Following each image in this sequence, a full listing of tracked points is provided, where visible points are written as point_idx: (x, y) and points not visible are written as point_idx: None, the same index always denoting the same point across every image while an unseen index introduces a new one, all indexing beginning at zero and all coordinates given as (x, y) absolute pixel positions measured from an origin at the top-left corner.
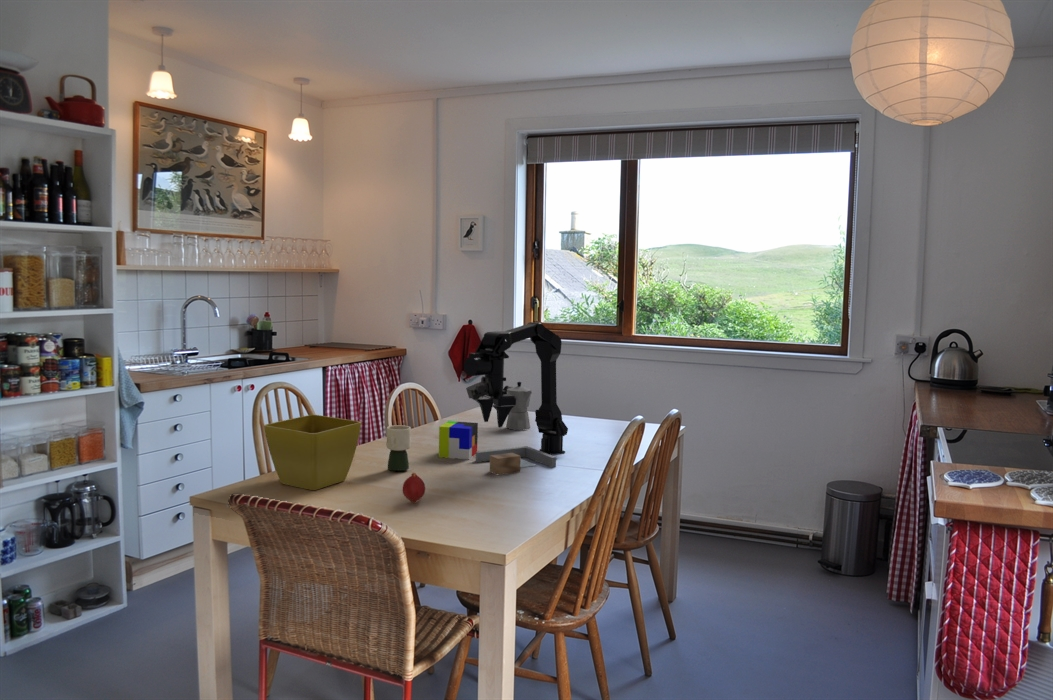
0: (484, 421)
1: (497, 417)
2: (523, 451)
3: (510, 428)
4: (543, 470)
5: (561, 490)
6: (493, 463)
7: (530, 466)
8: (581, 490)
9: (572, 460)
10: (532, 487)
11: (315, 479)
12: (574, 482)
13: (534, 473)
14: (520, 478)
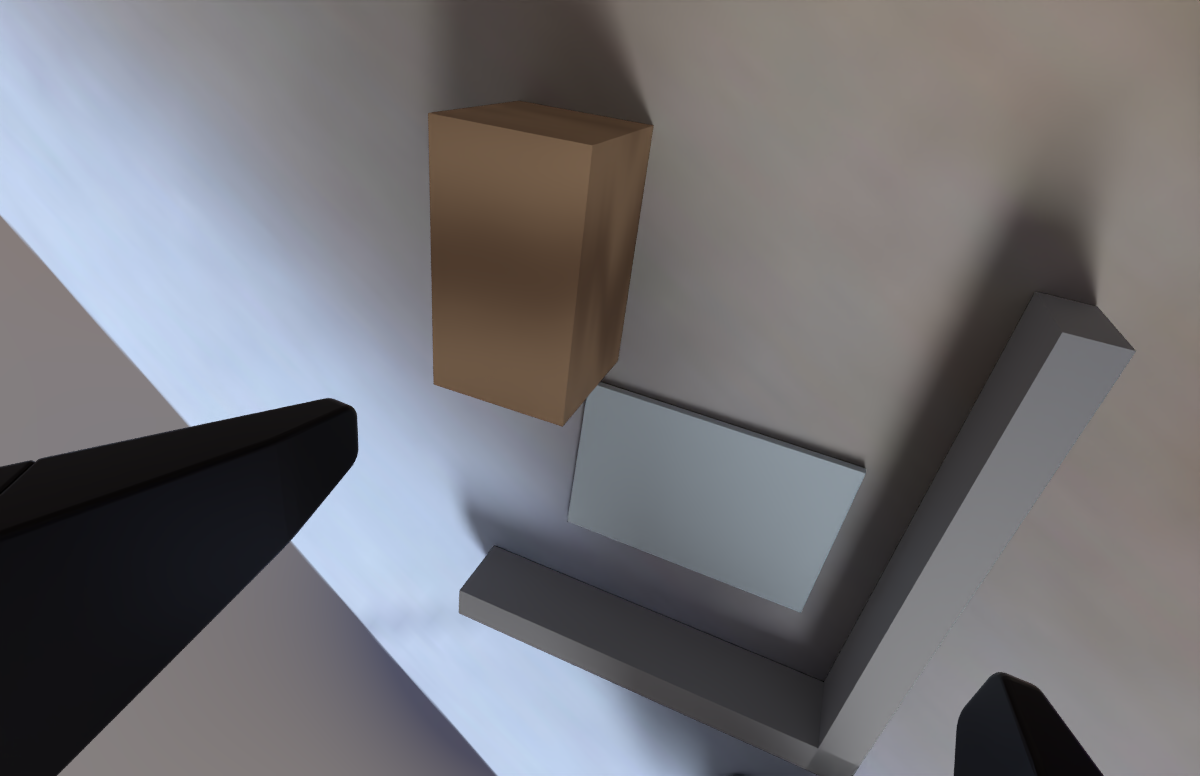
0: (1024, 681)
1: (109, 481)
2: (826, 707)
3: None
4: (461, 459)
5: (83, 189)
6: (547, 122)
7: (575, 482)
8: (76, 275)
9: (556, 719)
10: (155, 81)
11: None
12: (200, 370)
13: (426, 363)
14: (358, 185)
